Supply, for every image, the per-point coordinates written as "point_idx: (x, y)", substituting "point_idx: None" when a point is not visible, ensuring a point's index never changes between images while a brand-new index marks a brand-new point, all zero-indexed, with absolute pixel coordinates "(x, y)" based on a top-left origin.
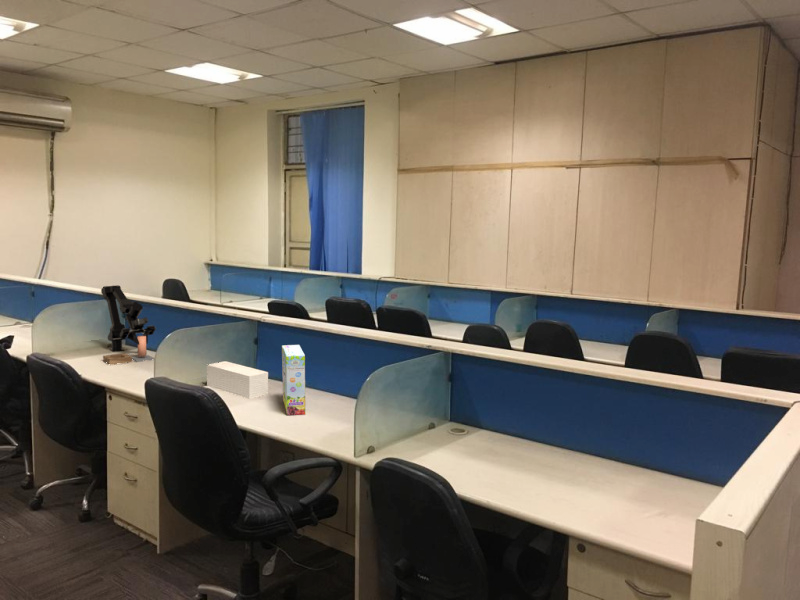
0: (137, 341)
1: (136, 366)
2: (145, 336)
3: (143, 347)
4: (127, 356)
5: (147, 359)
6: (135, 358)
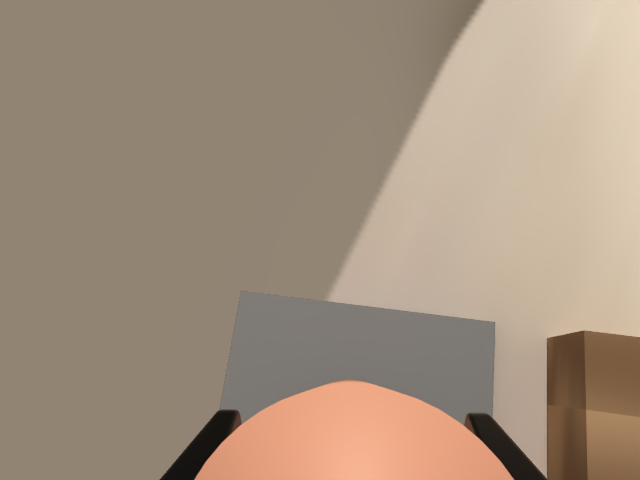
0: (531, 464)
1: (568, 102)
2: (231, 455)
3: (358, 381)
4: (631, 419)
5: (335, 303)
6: None
